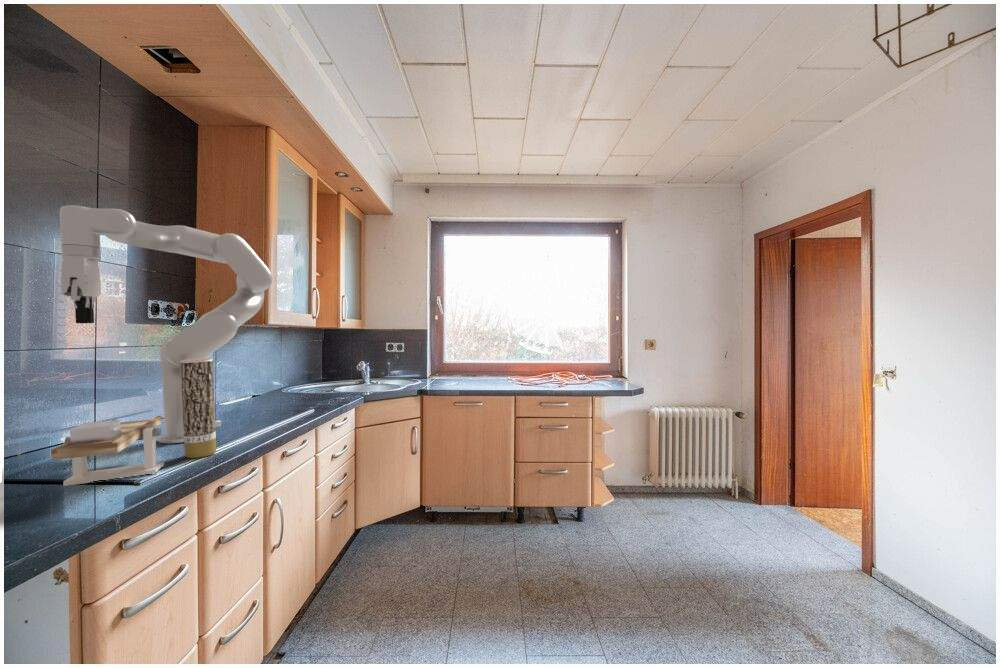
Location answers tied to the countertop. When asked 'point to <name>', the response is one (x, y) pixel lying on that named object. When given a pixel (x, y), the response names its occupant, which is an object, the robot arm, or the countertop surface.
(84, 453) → the balance beam
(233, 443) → the countertop surface
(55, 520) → the countertop surface
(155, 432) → the pivot stand
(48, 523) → the countertop surface
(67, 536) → the countertop surface
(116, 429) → the steel block
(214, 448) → the bark textured cylinder
